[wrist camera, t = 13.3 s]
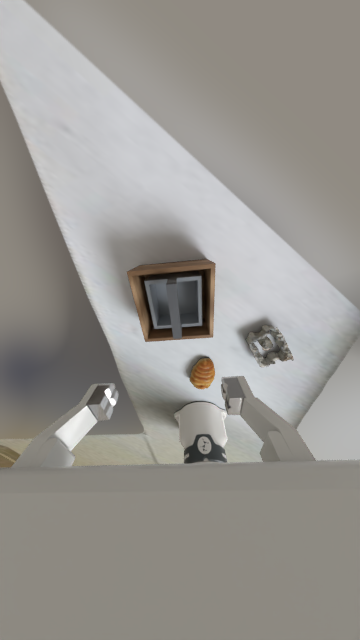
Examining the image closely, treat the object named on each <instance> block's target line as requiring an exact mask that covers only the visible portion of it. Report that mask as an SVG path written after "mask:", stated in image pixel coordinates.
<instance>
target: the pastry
mask: <svg viewBox="0 0 360 640" xmlns="http://www.w3.org/2000/svg"><path fill="white" fill-rule="evenodd" d="M214 376H215V370H214V364H213V362H212V360H211V359H210V358H203V359H200V360H199V361H198V362H197V364H196V365H194V366H193V369H192V371H191V376H190V379H189V380H190V382H191V383H192V384H193V385H194V387H196V388H198V389H205V388H208V387H209V386H210V384H211V383H212V381H213V380H214Z"/></svg>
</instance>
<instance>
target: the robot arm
mask: <svg viewBox="0 0 360 640" xmlns="http://www.w3.org/2000/svg"><path fill="white" fill-rule="evenodd" d="M221 381H222V384H221V392H222V397H223V399H224V400H225V407H226V411H227V413H226V411H225V410H222V409H220V408H218V407H217V406H216V405H214V404H211V403H207V402H195V403H191V404H188V405H186V406H184V407H183V408H182V409H181V410H180V411H177V412H175V413H174V417H175V419H176V421H177V422H178V424H179V441H180V442H181V445H182V446H183V447H184V449H185V451H184V464H146V465H103V466H72V464H73V462H74V460H75V455H74V454H73V453H72V452H71V450H72V449H73V448H74V447H75V446H76V445H77V443H78V442H79V441H80V440H81V439H82V438H83V437H84V436H85V435H86V433H87V432H88V431H89V430H90V429H91V428H92V427H93V426H94V425H95V424H96V422H97V421H98V420H109V419H110V417H111V414H112V412H113V406H114V405H115V404H116V402H117V400H118V391H117V390H116V389H115V385H114V384H113V383H110V384H93V385H91V387H90V388H89V390H88V391H87V393H86V394H85V396H84V397H83V398H82V400H81V402H80V403H79V405H78V406H75V407H74V408H72V409H71V410H70V411H69V412H67V413H66V414H65V415H63V416H62V417H61V418H59V419H58V420H57V421H56V422H54V423H53V424H52V425H50V426H49V427H48V428H47V429H45V430H44V431H43V432H41V433H40V434H39V435H38V436H36V437H35V438H34V439H33V440H32V441H31V443H30V444H29V445H28V447H27V448H26V449H25V450H24V452H23V453H22V454H21V456H20V457H19V458H18V459H17V461H16V462H15V463H14V464H13V466H12V467H11V468H0V640H360V460H320V461H316V460H315V458H314V457H313V455H312V453H311V452H310V450H309V449H308V447H307V446H306V444H305V442H304V441H303V439H302V438H301V436H300V435H299V433H298V431H297V430H296V429H295V428H294V427H293V426H291V425H290V424H289V423H288V422H286V421H285V420H284V419H283V418H281V417H280V416H279V415H278V414H277V413H275V412H274V411H273V410H272V409H270V408H269V407H268V406H267V405H265V404H264V403H263V402H262V401H260V400H259V399H258V398H255V397H254V395H253V393H252V391H251V389H250V387H249V385H248V383H247V381H246V379H245V377H244V376H232V377H222V380H221ZM227 414H228V415H240V416H241V417H242V418H243V419H244V420H245V421H246V423H247V424H248V425H249V426H250V427H251V428H252V429H253V431H254V432H255V433H256V434H257V435H258V436H259V438H260V439H261V440H262V441H263V442H264V444H263V446H262V449H261V451H260V455H261V458H262V460H263V462H232V463H227V457H226V454H225V450H224V445H225V444H226V441H227V435H226V430H225V425H224V420H225V418H226V416H227Z"/></svg>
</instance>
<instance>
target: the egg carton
mask: <svg viewBox="0 0 360 640" xmlns="http://www.w3.org/2000/svg"><path fill="white" fill-rule="evenodd" d="M269 330H272V331H271V335H272V336H273V337H274V338H275V339H276V341H275V343H276V344H277V345H278V346H279V347H280V351H279V352H277V353H275V352H270V353H268V354H267V357H266V358H263V357H262V355H261V354H260V352H259V350H258V348H257V347H256V346H255V344H254V343H253V342H256V341H258V342H259V343H260V345H261V346H262V349H263V350H264V351H268V350H270V349H271V348H273V344H272V342H271V340H270V339H269V338H268V337H267V334H270V333H269ZM246 341H247V343H248V344H249V345H250V349H251V351H252V353H253V354H254V357H255V359H256V361H257V362H258V364H259V365H260V367H265V366H269V365H270V364H275V361H276V360H279V359H280V360H281V361H287V360H290V359H291V360H292V361H293V356H292V354H291V352H290V350H289V348H288V345H287V343H286V341H285V338H284V336H283V335H282V334H281V332H280V331H279V330H278V329H277V327H276V328H274V327H273V326H267V325H264V326H262V330H261V331H260V332H259V333H253V332H250V333H249V334H248V337H247V338H246Z"/></svg>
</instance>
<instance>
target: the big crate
mask: <svg viewBox="0 0 360 640" xmlns="http://www.w3.org/2000/svg"><path fill="white" fill-rule="evenodd" d="M189 271H199V273H200V274H201V279H202V326H190V327H182V339H195V338H210V337H213V322H214V291H215V263H214V262H212V261H210V260H208V259H202V260H192V261H182V262H171V263H161V264H150V265H140V266H138V267H136V268H134V269H132V270H130V271H127V274H128V278H129V282H130V286H131V290H132V293H133V297H134V301H135V305H136V308H137V312H138V316H139V320H140V324H141V327H142V331H143V335H144V339H145V342H150V341H165V340H180V339H173V333H172V328H162V329H154V324H153V320H152V315H151V310H150V305H149V301H148V296H147V291H146V287H145V282H144V281H145V280H146V279H147V278H148V277H149V276H150V275H157V274H167V273H178V272H189Z"/></svg>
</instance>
